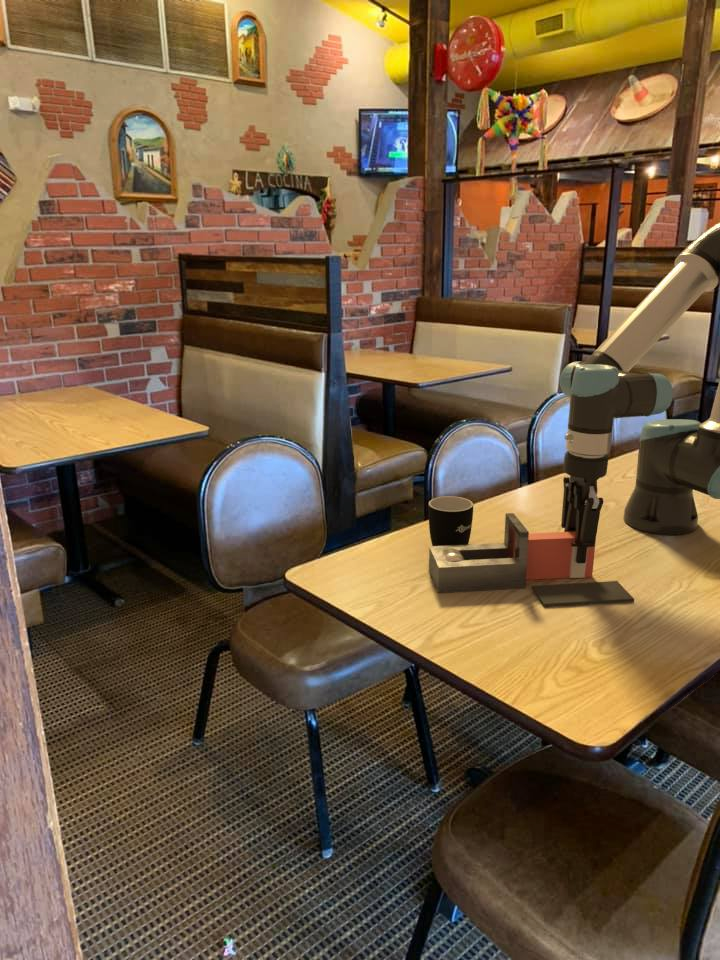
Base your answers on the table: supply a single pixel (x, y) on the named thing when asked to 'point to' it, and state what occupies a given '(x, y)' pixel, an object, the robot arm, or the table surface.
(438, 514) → the mug
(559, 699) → the table surface
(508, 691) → the table surface
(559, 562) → the orange block
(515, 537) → the frame
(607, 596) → the pad
